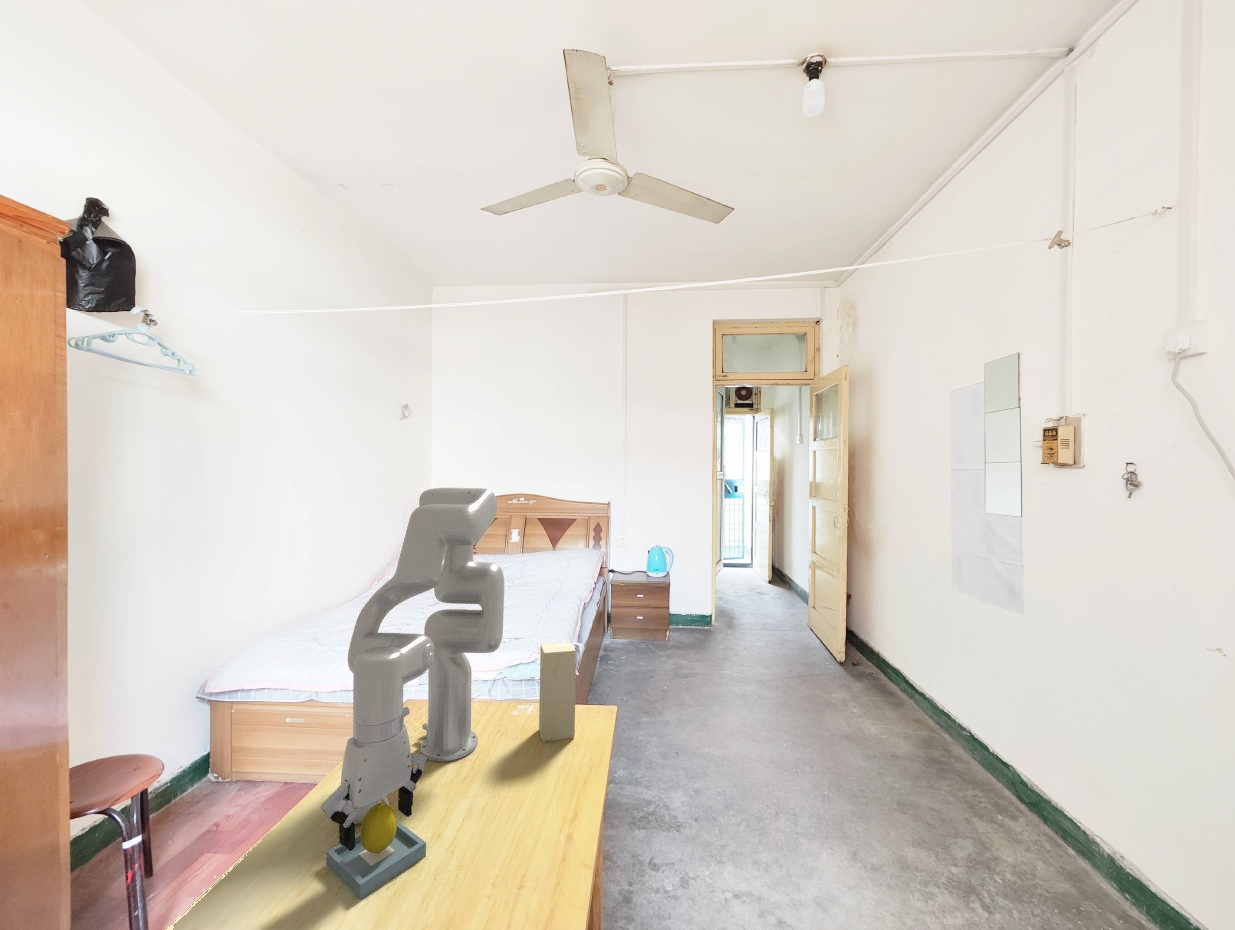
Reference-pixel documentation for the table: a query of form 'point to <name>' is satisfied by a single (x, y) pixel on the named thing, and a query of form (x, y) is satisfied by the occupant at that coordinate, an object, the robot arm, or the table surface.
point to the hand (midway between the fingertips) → (377, 828)
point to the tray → (375, 861)
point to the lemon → (378, 828)
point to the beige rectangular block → (557, 691)
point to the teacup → (361, 809)
